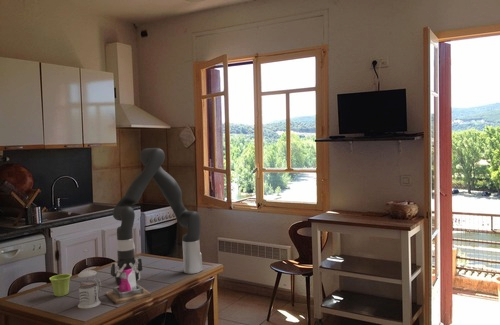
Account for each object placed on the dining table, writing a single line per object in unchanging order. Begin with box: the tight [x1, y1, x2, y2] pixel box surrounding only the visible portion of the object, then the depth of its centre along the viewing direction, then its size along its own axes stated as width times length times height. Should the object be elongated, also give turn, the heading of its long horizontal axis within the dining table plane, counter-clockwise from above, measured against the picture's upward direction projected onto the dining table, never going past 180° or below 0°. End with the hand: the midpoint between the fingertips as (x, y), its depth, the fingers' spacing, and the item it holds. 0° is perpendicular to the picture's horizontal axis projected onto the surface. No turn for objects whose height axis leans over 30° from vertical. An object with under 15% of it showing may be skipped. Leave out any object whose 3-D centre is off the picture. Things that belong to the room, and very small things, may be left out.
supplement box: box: [118, 268, 137, 292], centre depth 200 cm, size 6×6×12 cm
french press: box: [77, 248, 102, 309], centre depth 190 cm, size 10×12×25 cm
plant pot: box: [49, 273, 72, 297], centre depth 205 cm, size 9×9×9 cm
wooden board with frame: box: [105, 283, 152, 305], centre depth 200 cm, size 16×16×3 cm
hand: (127, 282), depth 200 cm, fingers open, 8 cm apart
